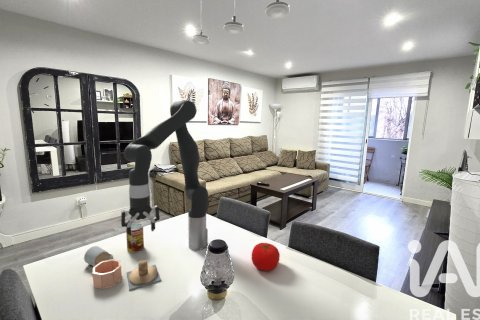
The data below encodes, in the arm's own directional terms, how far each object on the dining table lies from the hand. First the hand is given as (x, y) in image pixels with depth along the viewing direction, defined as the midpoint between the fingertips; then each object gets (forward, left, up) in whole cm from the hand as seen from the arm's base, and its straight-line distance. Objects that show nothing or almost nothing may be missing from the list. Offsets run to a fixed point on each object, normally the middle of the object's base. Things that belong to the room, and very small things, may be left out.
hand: (141, 232), depth 97 cm
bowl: (+13, -5, -20) cm, 24 cm away
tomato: (-50, +18, -20) cm, 57 cm away
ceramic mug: (+16, -20, -20) cm, 33 cm away
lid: (0, 0, -19) cm, 19 cm away
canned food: (0, -26, -20) cm, 33 cm away
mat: (0, 0, -20) cm, 20 cm away
